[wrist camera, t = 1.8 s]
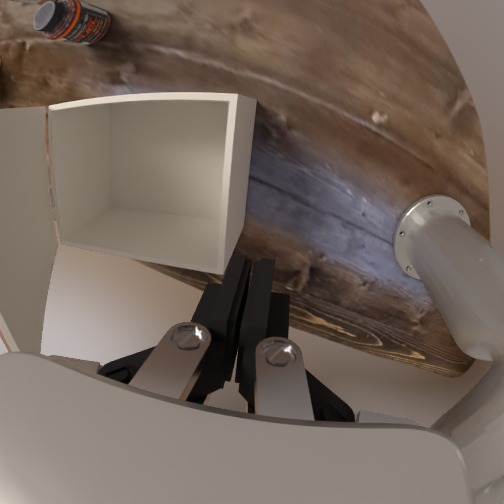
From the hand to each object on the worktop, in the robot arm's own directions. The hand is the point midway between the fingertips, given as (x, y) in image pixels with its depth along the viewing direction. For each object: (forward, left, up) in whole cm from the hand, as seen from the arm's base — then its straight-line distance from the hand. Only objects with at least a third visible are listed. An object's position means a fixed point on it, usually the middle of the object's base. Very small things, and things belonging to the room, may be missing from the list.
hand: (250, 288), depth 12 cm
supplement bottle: (+28, -20, -25) cm, 42 cm away
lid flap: (+18, 0, -4) cm, 19 cm away
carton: (+14, 0, -25) cm, 28 cm away
